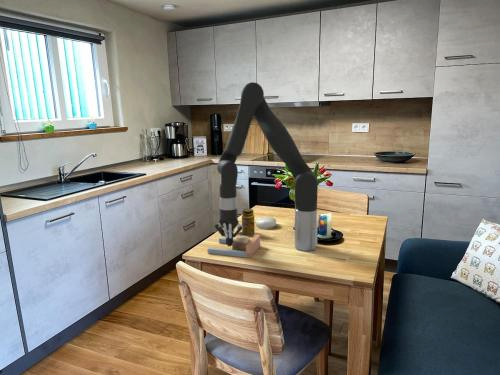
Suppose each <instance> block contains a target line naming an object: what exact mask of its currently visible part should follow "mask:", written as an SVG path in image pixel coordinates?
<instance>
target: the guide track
mask: <svg viewBox="0 0 500 375" xmlns="http://www.w3.org/2000/svg"><path fill="white" fill-rule="evenodd" d="M235 239H236V238H233V242H234V241H235ZM218 244H226V237H219V238H218ZM260 247H261V235H260V234H257V235H253V236H252V238H250V242H249V243H248V244H247V245H246V251H238V250H232V249H229V248H228V249H227V248H217V247H208V248H207V254H211V255H219V256H229V257H240V258H249V259H251V258H252V257H253V256H254V255H255V254H256V251H258V249H259V248H260Z"/></svg>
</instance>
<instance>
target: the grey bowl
mask: <svg viewBox="0 0 500 375" xmlns="http://www.w3.org/2000/svg"><path fill="white" fill-rule="evenodd" d="M255 222H256V226H257V228H259V229H262V230H263V229H264V230H270V229H275V227H276V226H277V219H276V218H274V217H271V216H270V217H269V216H263V217H259V218H257V219H256V221H255Z"/></svg>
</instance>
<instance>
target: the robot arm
mask: <svg viewBox="0 0 500 375" xmlns="http://www.w3.org/2000/svg"><path fill="white" fill-rule="evenodd" d="M253 118H255V120H256V121H257V123H258V126H259V127H260V130H261V132H262V133H263V135H264V137H265V139H266V142H268V144H269V146H270V147H271V149H272V151H273V152H274V154H276V155H277V157H278V158H279V159H280V160H281V161H282V162H283V163H284V164H285V165H286V166H287V168H288V169H289V172H290V173H291V175H292V177H293V179H294V248H295V249H296V250H297V251H302V252H309V251H316V249H317V247H318V223H317V222H318V221H317V219H318V191H319V189H318V185H319V182H318V177H317V175H316V174H315V172H314V170H312V169H311V168H310V166H309V165H308V163H307V162H306V161H305V160H304V158H303V156H302V154H301V153H300V150H299V148H298V147H297V145H296V142H295V141H294V140H293V138H292V136H291V134H290V133H289V131H288V130H287V128H286V126H285V125H284V124H283V122H281V120H280V119H279V118H278V117H277V115H275V114H274V112H273V111H272V110H271V108H270V106H269V104H268V102H267V100H266V98H265V93H264V89H263V87H262V86H261V85H260V84H259V83H258V82H253V81H252V82H249V83H248V82H247V83H246V84H245V85H244V86H243V87H242V89H241V91H240V101H239V107H238V111H237V115H236V118H235V119H234V123H233V125H232V128H231V130H230V133H229V136H228V138H227V141H226V145H225V147H224V148H225V149H224V150H223V152H222V154H221V155H220V157H219V159H218V162H217V168H216V170H217V173H218V174H220V175H221V176H220V177H221V178H220V179H221V182H220V184H219V202H218V204H219V206H218V208H219V221H218V222H217V223H216V224H215V225H214V228H215V229H216V230H217V232H218V233H219V234H220V235H221V237H223V238H226V246H227V247H232V243H233V239H234V238H237V236H239V235H238V233H239V232H242V228H243V227H244V226H243V225H242V224H241V223H240V221H239V218H238V215H239V214H238V198H237V183H238V174H239V170H238V166H237V164H236V161H237V159H238V157H240V156H241V155H242V152H243V150H244V147H245V144H246V141H247V138H248V135H249V130H250V127H251V124H252V120H253ZM235 229H237V230H236V231H235Z"/></svg>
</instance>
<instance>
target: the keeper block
mask: <svg viewBox="0 0 500 375" xmlns="http://www.w3.org/2000/svg"><path fill="white" fill-rule="evenodd" d="M234 239H235V241H234V242H233V243H232V246H231V247H232V248H231V250H238V251H246V245H247V244H248V243H249V242H250V240H251V238H250V237H249V238H248V237H244V238H243V237H235V238H234Z"/></svg>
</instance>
